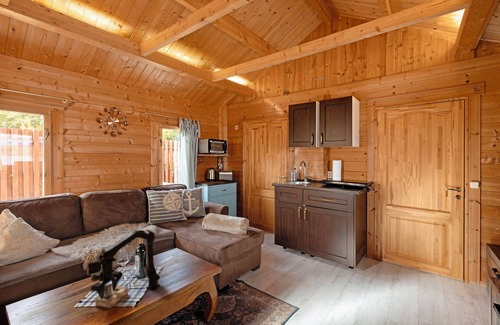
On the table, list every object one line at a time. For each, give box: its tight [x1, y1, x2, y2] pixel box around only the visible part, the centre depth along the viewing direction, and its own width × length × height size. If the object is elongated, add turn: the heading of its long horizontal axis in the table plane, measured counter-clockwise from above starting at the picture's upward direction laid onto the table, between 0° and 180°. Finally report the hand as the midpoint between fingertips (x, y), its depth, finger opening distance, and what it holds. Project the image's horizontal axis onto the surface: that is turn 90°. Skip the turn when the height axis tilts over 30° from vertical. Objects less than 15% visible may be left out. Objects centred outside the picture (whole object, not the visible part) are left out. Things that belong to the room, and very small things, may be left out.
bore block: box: [94, 285, 129, 310], centre depth 151 cm, size 15×10×4 cm, turn 168°
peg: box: [104, 283, 112, 299], centre depth 147 cm, size 4×4×10 cm
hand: (107, 294), depth 147 cm, fingers open, 9 cm apart
